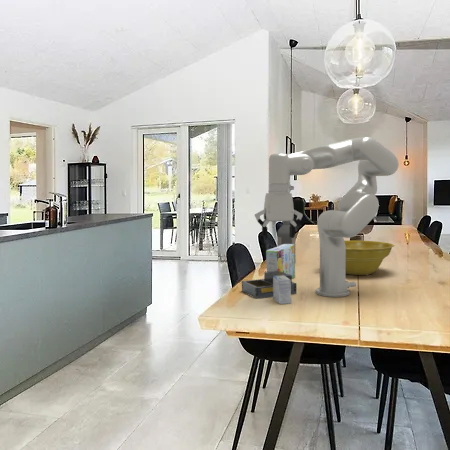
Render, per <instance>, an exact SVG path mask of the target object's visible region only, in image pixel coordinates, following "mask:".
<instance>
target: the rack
mask: <svg viewBox="0 0 450 450" xmlns="http://www.w3.org/2000/svg"><path fill="white" fill-rule="evenodd" d="M263 275H264V278H261V279H259V278H258V279H249V280H242V281H241V292H242V293H244V292H245V293H244V294H246V293H247V295H248V294H249V296H250V295H251V297H252V296H253V297H252V298H254V297H255V299H264V297H265V298H273V276H286V277H287V278H289V279H290V280H291V295H297V289H298V288H297V283H296V282H294V281H293V280H292V279H293V278H292V275H289V274H286V273H283V272H281V271H271V272H267V271H264V273H263Z"/></svg>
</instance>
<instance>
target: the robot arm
mask: <svg viewBox="0 0 450 450" xmlns="http://www.w3.org/2000/svg"><path fill="white" fill-rule="evenodd" d="M357 161H358V164H357V172H358V180H357V182H355V184H354V185H353V186H352V187H351V188H350V189H349V190H348V191H347V192H346V193H345V194H344V195H342V197H341V199H340V200H339V201H338V203H337V209H338V210H334V209H330V210H326V211H323V212H321V214H319V216H318V219H317V223H316V224H317V231H318V238H319V287H318V288H316V289H315V293H316V294H317V295H318V296H323V297H329V298H330V297H331V298H340V297H347V296H349V295H350V288H354V287H355V288H356V286H357V283H356V282H355V281H351V282H349V281H347V280H346V246H345V242H344V241H345V240H344V239H346V238H347V239H348V238H349V239H350V238H351V239H352V238H353V237H355V236H357V235H358V234H360V232H361V231H363V230H364V229H365V227H367V226H368V224H369V223H370V222H371V221H372V220H373V219H374V218H375V217H376V215H377V213H378V210H379V204H380V203H379V199H378V197H377V196H376V195H377V192H378V182H377V177H387V176H393V175H394V174H395V173H396V172H397V171H398V168H399V159H398V157H397V156H396V154H395V153H393V152H392V151H391V150H390V149H389V148H387V147H385V145H384V144H382V143H381V142H379V141H377V140H376V139H375V138H373V137H371V136H362V137H354V138H349V139H345V140H339V141H337V142H333V143H328V144H325V145H320V146H317V147H314V148H310V149H306V150H301V151H299V152H294V153H289V154H288V153H272V154H270V155H269V157H268V188H267V189H268V193H265V197H264V202H263V203H264V205H263V209H262V210H260V211H258V212H256V213H255V214H254V218H255V219H256V221H257V223H258V224H259V225H260V226H261V235H262V237H263V238H264V239H268V226H267V225H268V224H269V223H270V222H283V221H288V222H289V223H290V232H289V237H291V238H294V235H295V236H296V227H297V225H298V224H300V222H301V221H302V218H303V215H304V214H303V213H302V212H299V211H297V210H296V209H294V208H295V207H294V201H293V200H294V199H293V194H292V193H291V192H292V191H293V190H295V186H294V185H292V184H291V176H305V175H308V174H309V173H310V172H312V170H323V169H330V168H331V169H332V168H334V167H338V166H342V165H345V164H349V163H353V162H357ZM262 215H263V220H262V219H261V216H262ZM294 215H295V216H296V218H294V217H295V216H294ZM294 219H295V220H294Z"/></svg>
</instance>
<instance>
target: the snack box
mask: <svg viewBox="0 0 450 450" xmlns="http://www.w3.org/2000/svg"><path fill="white" fill-rule="evenodd" d="M265 257H266V258H265V259H266V260H265V262H266V263H265V264H266V272H271V271H281V272H283V273H286V274H289V275H292V279H294V278H296V252H295V253H294V244H283V245H280V246H275V247H273V248H269V249H266V251H265Z"/></svg>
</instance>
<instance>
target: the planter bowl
mask: <svg viewBox="0 0 450 450" xmlns="http://www.w3.org/2000/svg"><path fill="white" fill-rule="evenodd" d="M344 242H345V246H346V274H347V275H352V276H354V275H355V276H365V275H371V274H374V273H375V272H376V271H378V269H379V268H380V266H381V265H382V262H383V260H384V259H385V258H387V257H388V256H389V255H390V254H391V252H392V248H394V247H395V245H394V244H393V243H389V242H384V241H373V240H344Z"/></svg>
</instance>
